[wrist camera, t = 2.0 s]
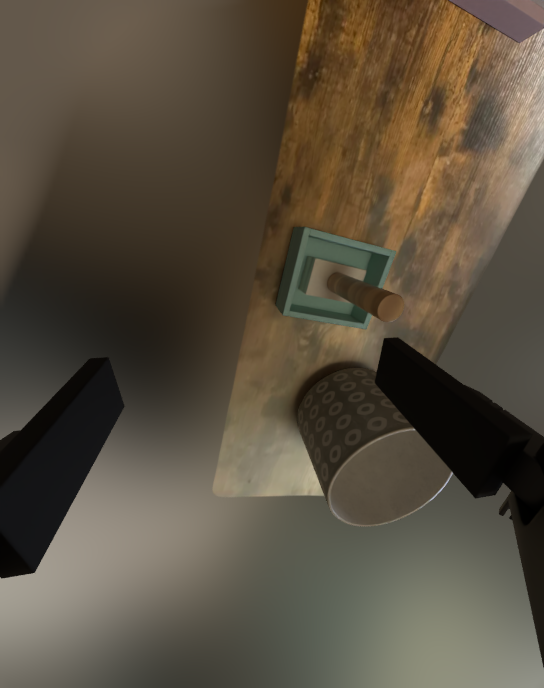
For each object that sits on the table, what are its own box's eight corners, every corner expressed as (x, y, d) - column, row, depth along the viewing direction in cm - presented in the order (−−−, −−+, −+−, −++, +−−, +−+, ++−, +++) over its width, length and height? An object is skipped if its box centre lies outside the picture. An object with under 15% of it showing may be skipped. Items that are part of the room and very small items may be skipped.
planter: (281, 435, 52) (309, 528, 36) (310, 352, 46) (360, 422, 29) (361, 440, 57) (417, 525, 41) (398, 367, 51) (482, 433, 34)
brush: (298, 289, 40) (345, 326, 25) (307, 255, 38) (364, 274, 23) (344, 298, 42) (413, 337, 27) (355, 266, 40) (435, 290, 25)
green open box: (275, 305, 41) (282, 315, 36) (293, 226, 36) (304, 226, 32) (350, 318, 44) (366, 329, 39) (375, 248, 40) (396, 251, 35)
